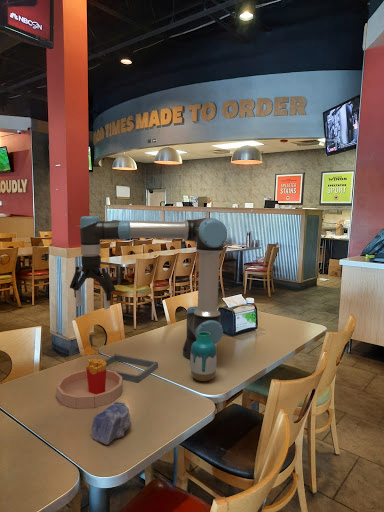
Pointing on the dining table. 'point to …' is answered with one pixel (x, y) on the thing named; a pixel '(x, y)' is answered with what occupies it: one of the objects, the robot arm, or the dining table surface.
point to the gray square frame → (147, 363)
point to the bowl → (78, 396)
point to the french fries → (96, 375)
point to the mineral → (111, 423)
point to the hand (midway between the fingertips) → (92, 307)
